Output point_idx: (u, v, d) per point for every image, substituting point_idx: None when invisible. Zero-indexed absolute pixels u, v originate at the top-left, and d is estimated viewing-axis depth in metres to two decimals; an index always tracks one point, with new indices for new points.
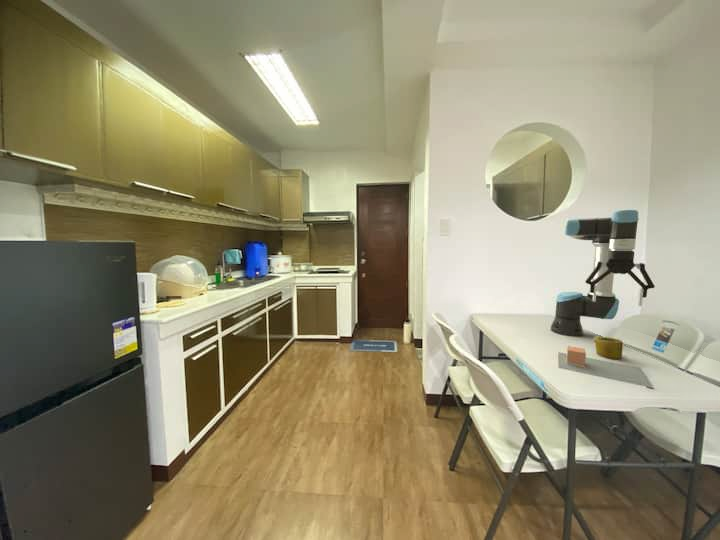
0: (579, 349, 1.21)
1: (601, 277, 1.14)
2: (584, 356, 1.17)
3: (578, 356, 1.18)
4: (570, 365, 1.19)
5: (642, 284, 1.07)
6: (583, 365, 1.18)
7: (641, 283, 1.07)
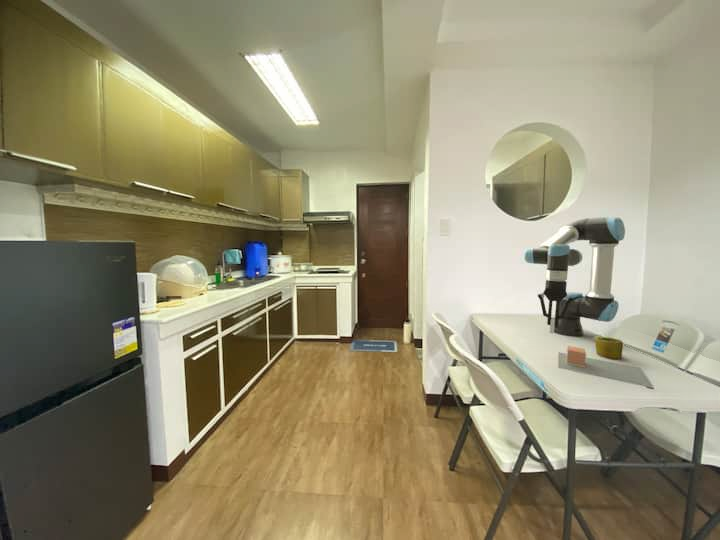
0: (579, 349, 1.21)
1: (550, 308, 1.24)
2: (584, 356, 1.17)
3: (578, 356, 1.18)
4: (570, 365, 1.19)
5: (557, 314, 1.23)
6: (583, 365, 1.18)
7: (557, 313, 1.23)
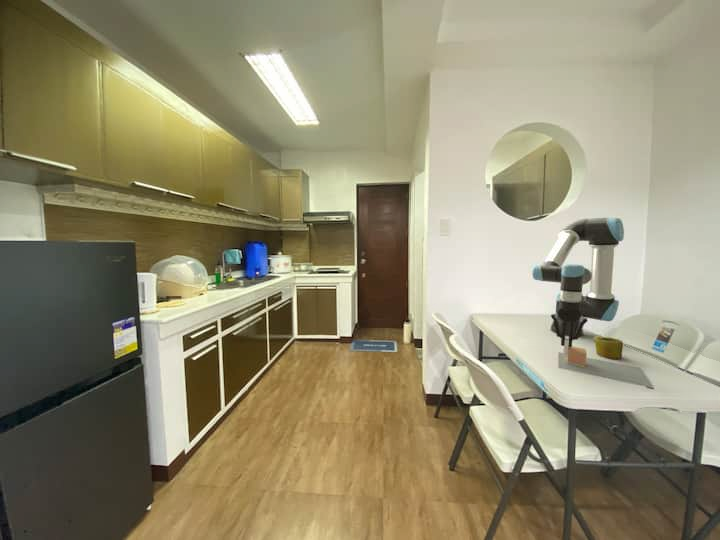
0: (580, 349, 1.21)
1: (563, 329, 1.22)
2: (584, 356, 1.17)
3: (579, 356, 1.18)
4: (570, 365, 1.19)
5: (571, 335, 1.21)
6: (583, 365, 1.18)
7: (571, 334, 1.21)
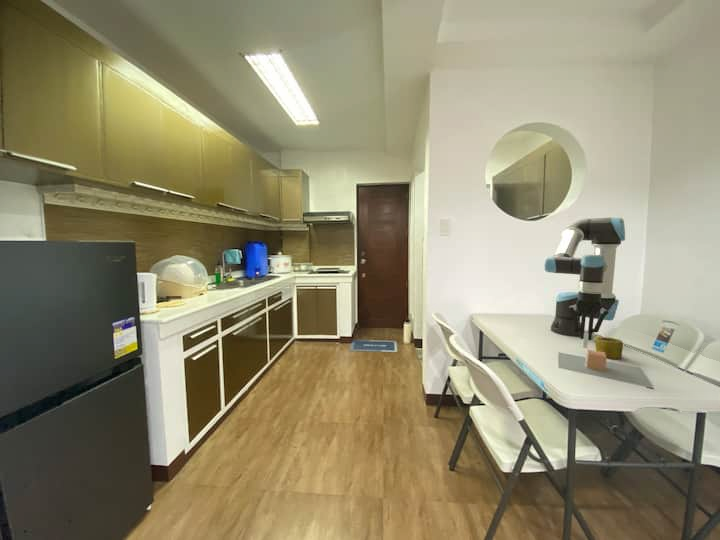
0: None
1: (583, 321, 1.18)
2: (600, 369, 1.14)
3: (599, 364, 1.15)
4: (570, 365, 1.19)
5: (591, 328, 1.16)
6: (588, 366, 1.17)
7: (591, 327, 1.16)
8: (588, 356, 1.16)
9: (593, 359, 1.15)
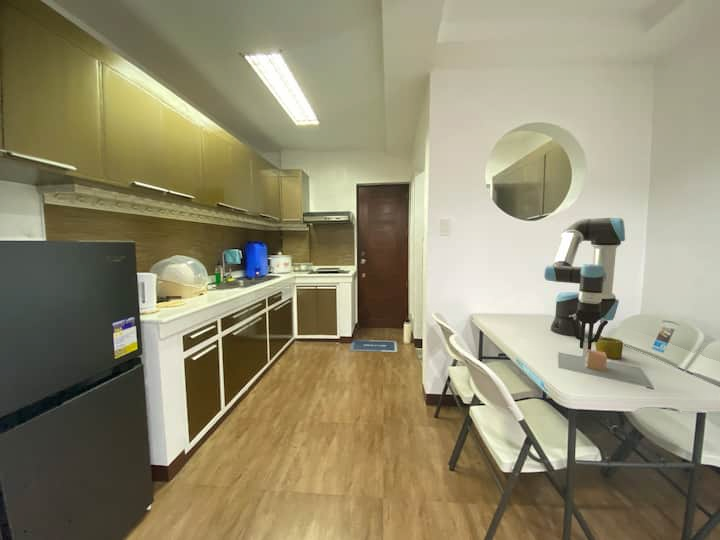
0: None
1: (582, 331, 1.18)
2: (600, 369, 1.14)
3: (599, 364, 1.15)
4: (570, 365, 1.19)
5: (591, 337, 1.17)
6: (588, 366, 1.17)
7: (590, 336, 1.17)
8: (588, 356, 1.16)
9: (593, 359, 1.15)
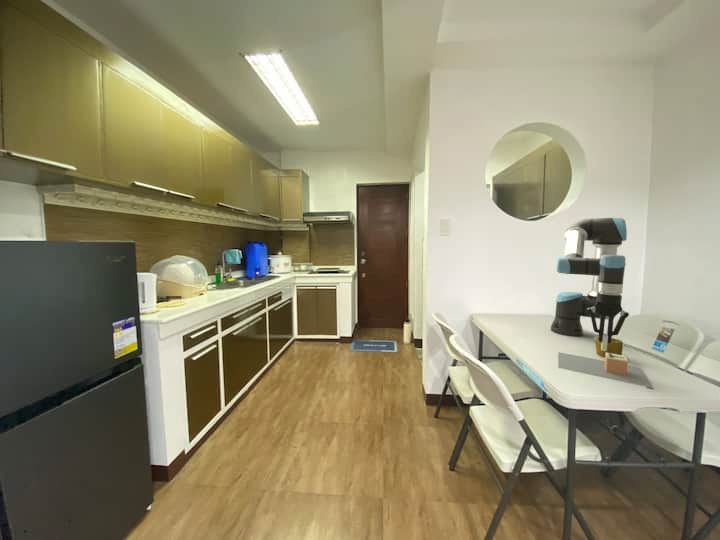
0: None
1: (602, 324, 1.14)
2: (607, 368, 1.13)
3: (613, 368, 1.12)
4: (570, 365, 1.19)
5: (610, 330, 1.13)
6: (608, 358, 1.13)
7: (610, 329, 1.13)
8: (623, 361, 1.10)
9: (620, 364, 1.11)
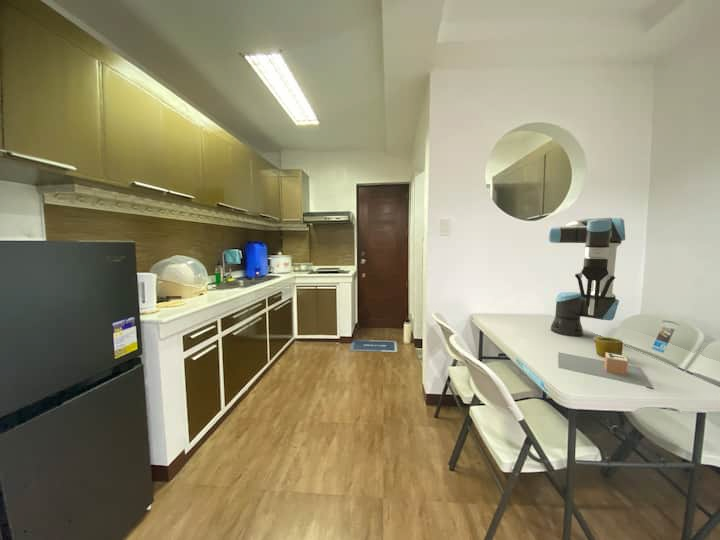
0: None
1: (589, 288, 1.16)
2: (607, 368, 1.13)
3: (613, 368, 1.12)
4: (570, 365, 1.19)
5: (597, 294, 1.15)
6: (608, 358, 1.13)
7: (597, 293, 1.15)
8: (623, 361, 1.10)
9: (620, 364, 1.11)
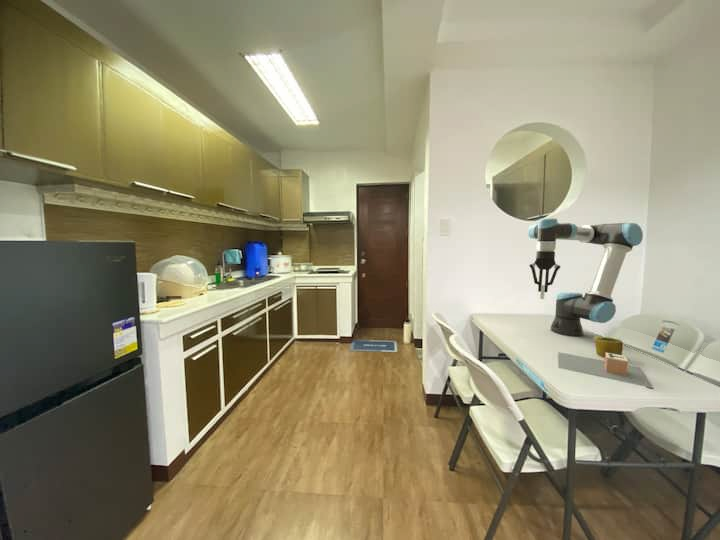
0: None
1: (540, 276, 1.38)
2: (607, 368, 1.13)
3: (613, 368, 1.12)
4: (570, 365, 1.19)
5: (547, 281, 1.36)
6: (608, 358, 1.13)
7: (546, 280, 1.36)
8: (623, 361, 1.10)
9: (620, 364, 1.11)
